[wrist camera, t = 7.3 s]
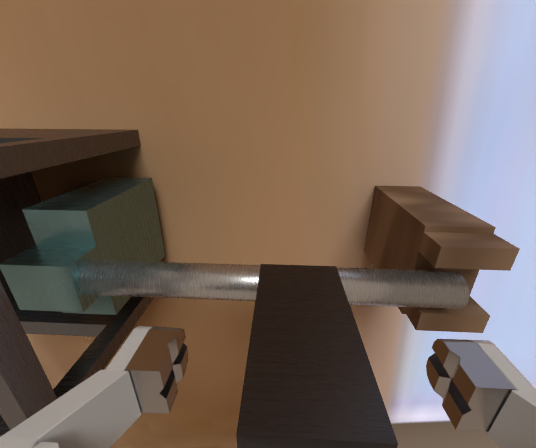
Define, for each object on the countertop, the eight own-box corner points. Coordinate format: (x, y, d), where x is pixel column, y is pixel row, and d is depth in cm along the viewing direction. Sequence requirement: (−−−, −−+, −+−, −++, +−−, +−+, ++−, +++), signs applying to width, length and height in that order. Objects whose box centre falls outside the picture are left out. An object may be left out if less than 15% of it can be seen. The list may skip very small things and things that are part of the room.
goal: (137, 130, 17) (-124, 161, 6) (165, 281, 22) (46, 452, 11) (0, 128, 18) (-473, 157, 7) (56, 277, 22) (-163, 438, 11)
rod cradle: (420, 186, 18) (522, 241, 10) (404, 251, 20) (480, 337, 12) (375, 186, 18) (443, 239, 10) (364, 250, 20) (414, 334, 12)
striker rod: (401, 181, 17) (788, 409, 4) (384, 261, 19) (591, 566, 6) (108, 177, 18) (-354, 350, 5) (127, 253, 20) (-150, 506, 7)
